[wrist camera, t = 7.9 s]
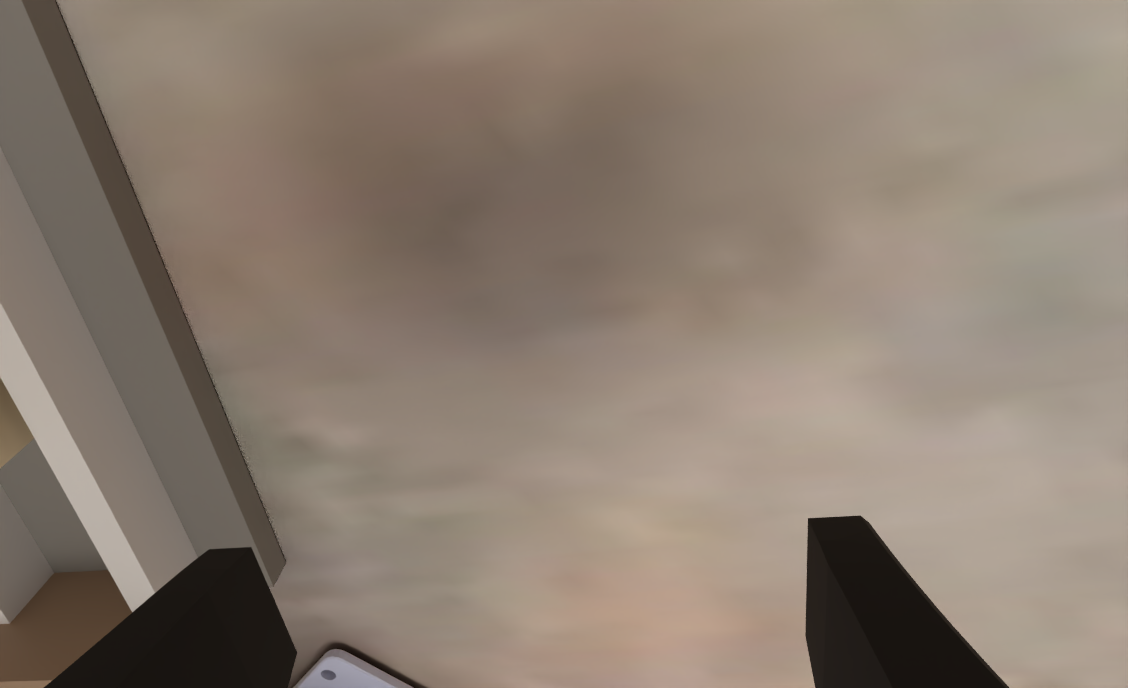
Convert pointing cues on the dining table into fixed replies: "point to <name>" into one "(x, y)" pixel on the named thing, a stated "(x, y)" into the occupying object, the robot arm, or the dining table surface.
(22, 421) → the door panel
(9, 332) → the track board
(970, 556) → the dining table surface
